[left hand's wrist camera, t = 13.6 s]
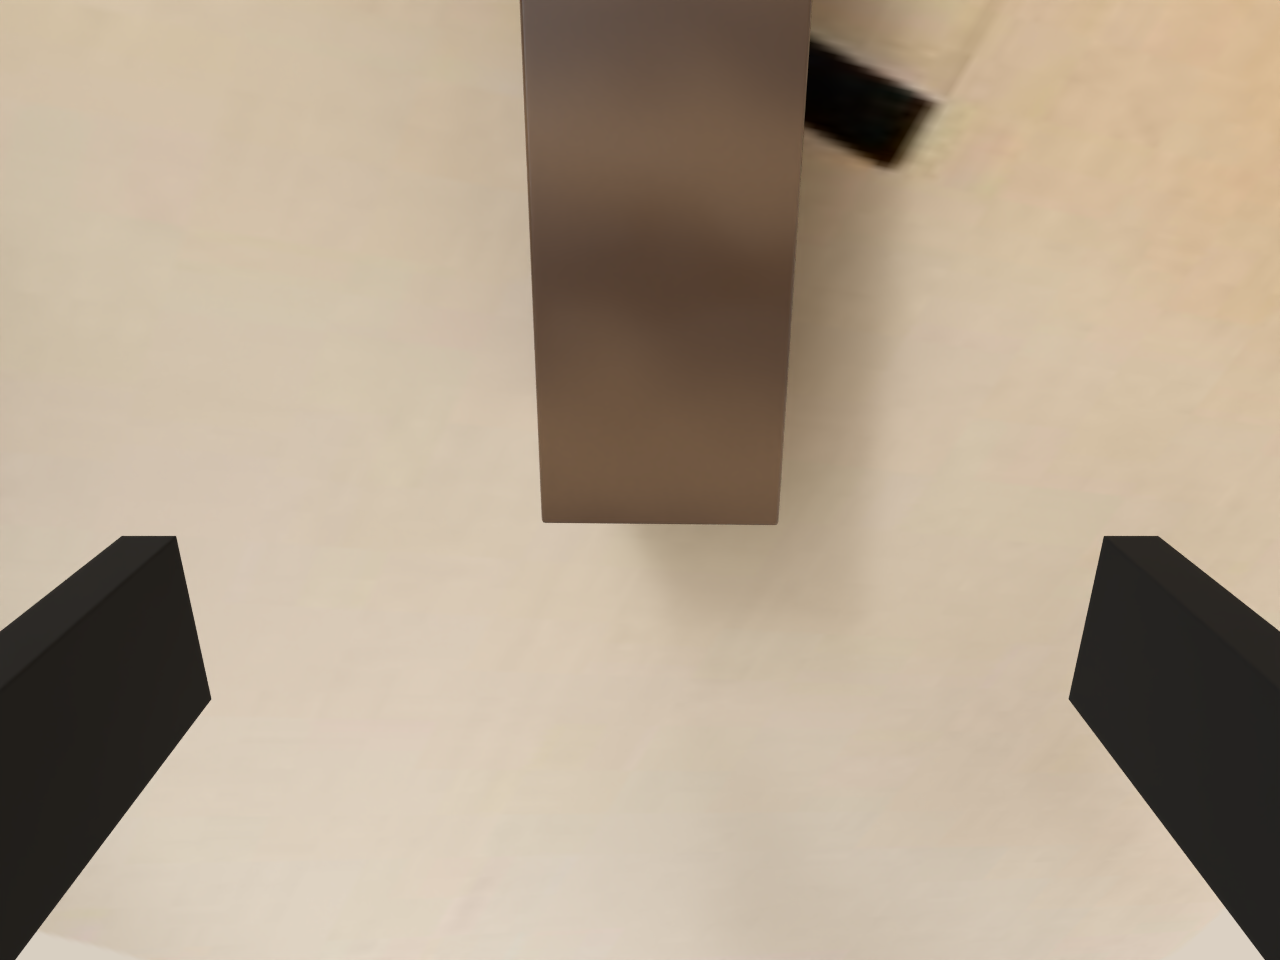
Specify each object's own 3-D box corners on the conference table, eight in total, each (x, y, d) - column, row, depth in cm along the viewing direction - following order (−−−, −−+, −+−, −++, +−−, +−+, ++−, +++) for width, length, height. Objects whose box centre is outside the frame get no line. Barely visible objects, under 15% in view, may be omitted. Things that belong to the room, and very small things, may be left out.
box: (745, 418, 33) (778, 526, 24) (573, 416, 34) (541, 524, 24) (780, -333, 25) (852, -604, 16) (553, -331, 25) (493, -600, 16)
